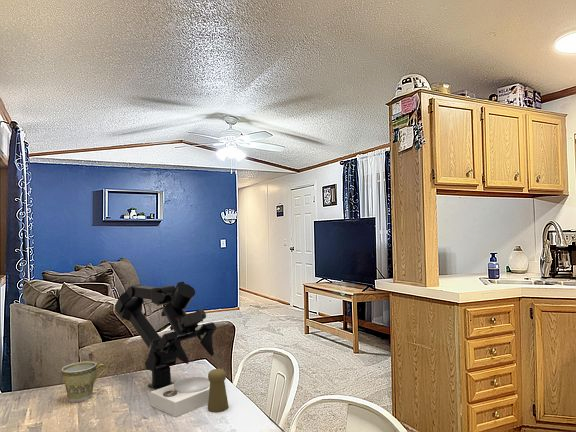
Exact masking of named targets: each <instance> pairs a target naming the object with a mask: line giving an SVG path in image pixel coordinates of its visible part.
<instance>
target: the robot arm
mask: <svg viewBox="0 0 576 432" xmlns="http://www.w3.org/2000/svg"><path fill="white" fill-rule="evenodd" d="M195 295H196V290H195V288H194V287H193V286H192V285H190V284H188V283H185V281H178V282H177V283H176V286H175V285H173V284H170V285H164V286H159V287H157V286H149V285H144V284H137V285H135V284H134V285H130V286H128V287H127V289H126V291H125V292H124V293H122V294H121V295H120V296H119V297H118V298H117V301H116V303H115V305H114V309H115V312H116V313H117V315H118V316H119V317H120V318H121V319H122V320H126V321H128V322H130V324H131V325H132V326H133V328H134V329H135V330H136V332H137V334H138V335H139V337H140V338H141V340H142V341H143V342H144V343H145V345H146V346H147V348H148V351H147V352H148V354H147V355H148V357H147V358H146V360H145V362H144V366H145V369H146V370H148V371H150V372H151V383H149V384H147V387H148V388H151V389H154V390H157V389H160V388H163V387H166V386H169V385H171V384H174V383H175V382H173V381H172V373H171V366H175V365H176V363H177V360H180V361H181V362H183V363H184V364H186V365H188V364H189V363H190V361H189V358H188V356H187V354H186V352H185V350H184V348H183V347H182V344H181V343H182V342H183V341H186V340H191V339H194V338H198V340H200V342H199V343H200V344H201V345H202V348H204V350H206V352H207V353H208V355H210V356H211V357H213V356H214V354H215V352H214V346H213V335H214V333H215V332H216V330H217V329H218V328H217V326H216V324H215V322H212V321H211V322H207V323H203V322H204V320H205V319H207V314H206V312H205V310H204V309H203V308H199V309H197V310H196V311H195V312H189V313H187V312H186V310H185V309H186V308H188V307H189V304H191V301H192V300H193V299H194V297H195ZM145 300H150V301H151V303H152V304H154V305H156V306H160V305H161V306H163V305H164V307H162V310H161V313H160V314H161V315H160V316H161V317H165V316H166V319H167V320H168V322H169V323H170V326H169V329H170V331H171V332H166V333H163V334H162V336H160V335H159V333H158V332H157V331H156V329H155V328H154V327H153V325H152V324H151V323H150V321H149V320H148V319H147V317H146V316H145V314H144V313H143V305H144V302H145ZM201 322H202V323H203V324H202V325H201V326H200V328H199V329H198V327H199V323H201ZM196 329H197V330H196Z"/></svg>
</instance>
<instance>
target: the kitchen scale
mask: <svg viewBox="0 0 576 432" xmlns="http://www.w3.org/2000/svg"><path fill="white" fill-rule="evenodd" d="M209 389H210V382H209V380H208V377H203V376H202V377H201V376H191V377H186V378H182V379H180V380H178V381H176V382H174V384H171V385H169V386H166V387H163V388H160V389H157V390H156V389H154V390H152V391H150V393H149V397H150V406H151V407H153V408H155V409H157V410H159V411H162V412H163V413H167V414H168V415H170V416H173V417H175V418H177V417H180V416H182V415H185V414H186V413H189V412H192V411H194V410H196V409H198V408H201V407H203V406H206V405H208V400H209Z"/></svg>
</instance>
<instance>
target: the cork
mask: <svg viewBox="0 0 576 432" xmlns="http://www.w3.org/2000/svg"><path fill="white" fill-rule="evenodd" d="M207 378H208V380H209V382H210V389H209V400H208V404H207V411H208V412H210V413H213V414H214V413H223V412H226V411H227V410H228V409H229V401H228V394H227V389H226V384H225V382H226V379H227V372H226V370H224V369H222V368H213V369H211V370H210V371H209V372H208V375H207Z"/></svg>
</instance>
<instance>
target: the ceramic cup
mask: <svg viewBox="0 0 576 432" xmlns="http://www.w3.org/2000/svg"><path fill="white" fill-rule="evenodd" d="M100 366H103V369H102V370H101V371H100V372H99V374H98V375H97V376H96V373H97V370H98V369H99V367H100ZM105 370H106V364H105V363H101V362H99V363H96V362H94V361H79V362H73V363H71V364H67V365H65V366H63V367H62V368H61V375H62V379H63V382H64V387H65V391H66V397H67V400H68V401H69V402H70V403H81V402H84V401H87V400H89V399H91V398H92V397H93V391H94V384H95V383H96V381H97V380H98V378H99V377H100V376H101V374H103V373H104V372H105Z"/></svg>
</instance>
